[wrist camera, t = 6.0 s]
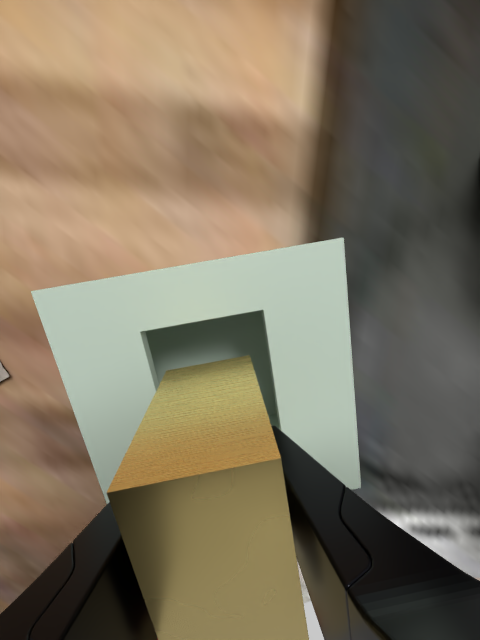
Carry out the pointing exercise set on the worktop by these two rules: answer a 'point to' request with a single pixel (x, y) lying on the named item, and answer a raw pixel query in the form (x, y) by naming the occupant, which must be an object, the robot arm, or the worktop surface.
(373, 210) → the worktop surface
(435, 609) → the robot arm
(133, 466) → the yellow block
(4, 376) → the condiment
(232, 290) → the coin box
